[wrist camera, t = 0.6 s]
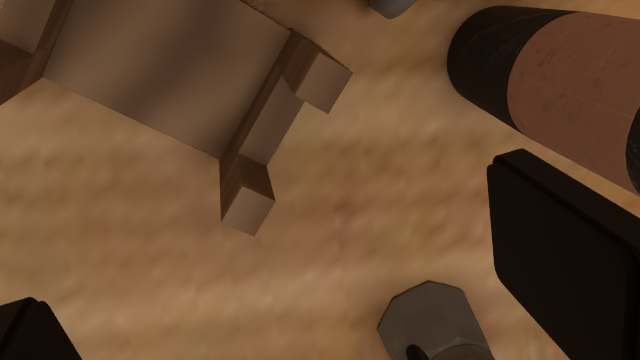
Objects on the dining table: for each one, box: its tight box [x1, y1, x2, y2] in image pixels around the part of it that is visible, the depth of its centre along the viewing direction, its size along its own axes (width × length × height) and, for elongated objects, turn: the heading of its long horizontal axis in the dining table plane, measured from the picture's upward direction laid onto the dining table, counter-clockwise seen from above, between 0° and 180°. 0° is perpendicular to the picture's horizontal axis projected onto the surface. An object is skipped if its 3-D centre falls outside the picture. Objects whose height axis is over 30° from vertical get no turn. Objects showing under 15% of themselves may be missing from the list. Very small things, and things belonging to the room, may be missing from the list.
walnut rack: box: [0, 0, 353, 236], centre depth 27 cm, size 18×10×10 cm, turn 58°
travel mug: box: [447, 6, 640, 197], centre depth 27 cm, size 8×8×20 cm
